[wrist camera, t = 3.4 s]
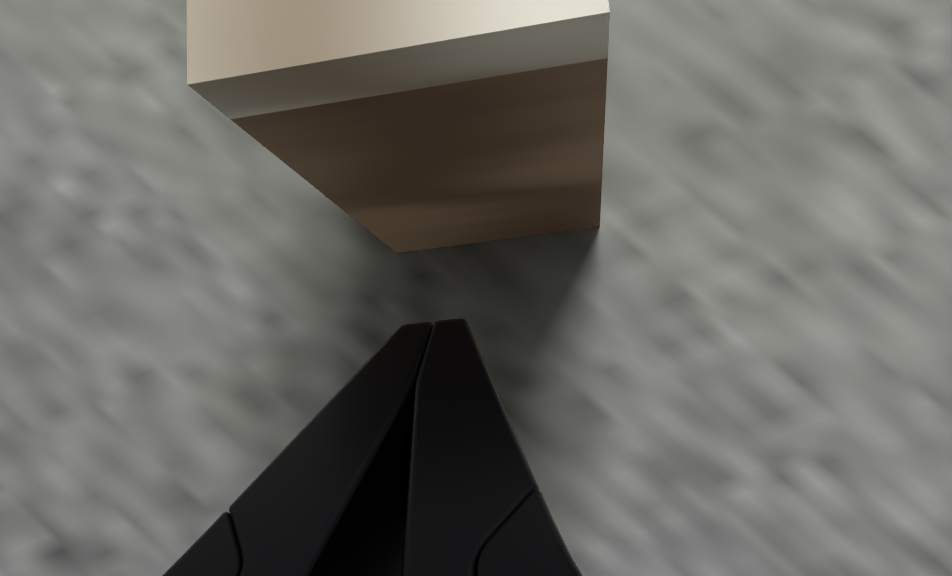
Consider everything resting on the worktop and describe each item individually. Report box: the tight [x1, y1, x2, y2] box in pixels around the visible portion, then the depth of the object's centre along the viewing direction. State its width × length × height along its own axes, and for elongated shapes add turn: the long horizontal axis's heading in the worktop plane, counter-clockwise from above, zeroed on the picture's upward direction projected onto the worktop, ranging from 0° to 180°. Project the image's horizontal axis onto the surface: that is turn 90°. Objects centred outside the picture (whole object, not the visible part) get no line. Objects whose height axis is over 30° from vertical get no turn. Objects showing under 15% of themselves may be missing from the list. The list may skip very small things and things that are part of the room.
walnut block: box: [187, 0, 610, 253], centre depth 13 cm, size 5×5×9 cm
